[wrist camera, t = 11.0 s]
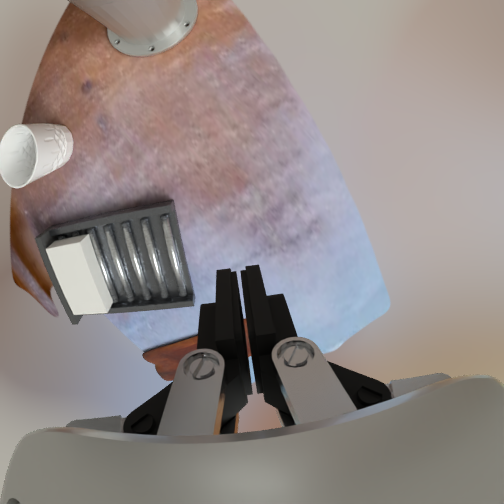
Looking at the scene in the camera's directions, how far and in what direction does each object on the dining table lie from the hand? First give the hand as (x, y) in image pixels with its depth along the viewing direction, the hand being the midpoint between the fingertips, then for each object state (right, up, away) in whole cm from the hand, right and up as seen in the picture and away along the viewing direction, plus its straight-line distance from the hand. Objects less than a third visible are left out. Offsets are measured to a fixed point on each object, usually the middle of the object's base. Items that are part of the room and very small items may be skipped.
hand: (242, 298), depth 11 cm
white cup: (-28, +18, +19) cm, 38 cm away
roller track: (-20, 0, +28) cm, 35 cm away
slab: (-26, -1, +26) cm, 37 cm away
